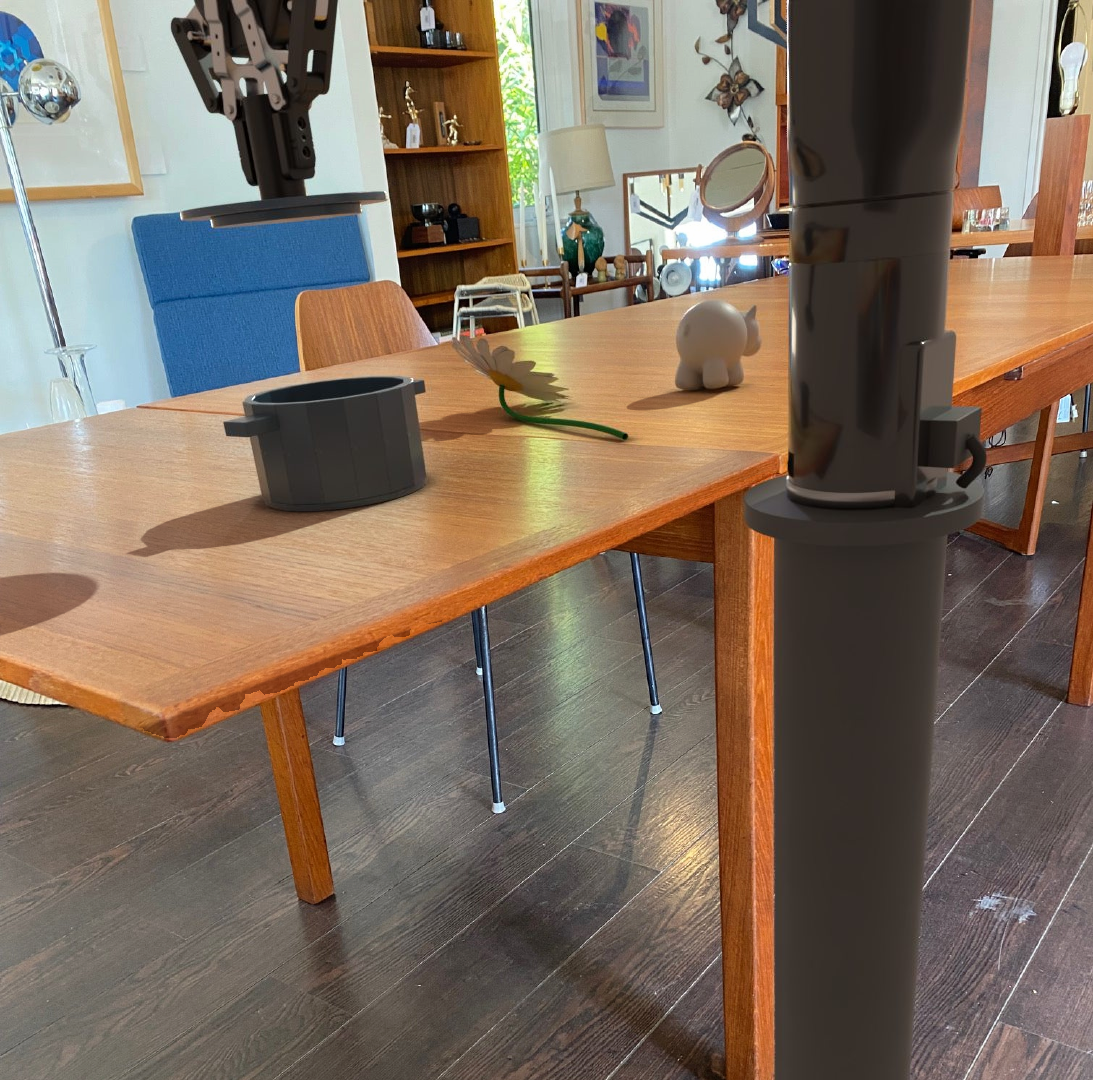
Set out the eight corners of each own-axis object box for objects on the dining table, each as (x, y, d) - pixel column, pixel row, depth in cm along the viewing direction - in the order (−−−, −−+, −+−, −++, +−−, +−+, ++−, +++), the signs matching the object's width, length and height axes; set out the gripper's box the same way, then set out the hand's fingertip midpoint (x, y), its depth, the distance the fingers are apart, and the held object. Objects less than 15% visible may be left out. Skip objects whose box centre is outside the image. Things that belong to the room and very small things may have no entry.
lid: (430, 206, 71) (415, 83, 68) (275, 218, 62) (249, 75, 59) (298, 222, 79) (278, 113, 76) (141, 235, 69) (112, 110, 66)
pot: (482, 468, 84) (470, 370, 81) (312, 527, 72) (290, 413, 69) (373, 461, 91) (358, 370, 88) (201, 513, 79) (177, 409, 76)
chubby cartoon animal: (788, 375, 113) (788, 289, 110) (718, 394, 106) (716, 303, 103) (733, 374, 118) (732, 291, 115) (663, 392, 111) (659, 305, 107)
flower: (585, 371, 85) (437, 316, 108) (554, 435, 86) (415, 367, 109) (697, 438, 93) (537, 373, 116) (667, 495, 94) (515, 420, 117)
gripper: (352, -172, 61) (398, 169, 68) (201, -108, 69) (257, 191, 76) (247, -201, 55) (310, 172, 63) (98, -127, 63) (168, 195, 71)
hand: (281, 181), depth 69 cm, fingers closed on lid, 3 cm apart
